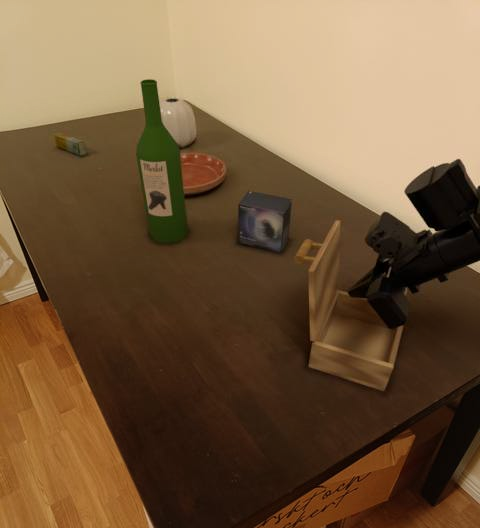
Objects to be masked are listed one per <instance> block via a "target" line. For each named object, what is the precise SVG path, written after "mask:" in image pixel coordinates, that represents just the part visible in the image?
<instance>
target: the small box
mask: <svg viewBox="0 0 480 528" xmlns="http://www.w3.org/2000/svg"><path fill="white" fill-rule="evenodd" d="M237 205H238V207H237V209H238V211H237V214H238V215H237V216H238V217H237V221H238V223H237V226H238V227H237V230H238V237H237V239H238V244H240V245H245V246H248V247H253V248H256V249H261V250H265V251H269V252H274V253H278V254H282V252H283V250H284V249H285V248H286V246H287V244H288V242H289V241H290V240H289V239H290V236H289V235H290V226H291V215H292V213H291V212H292V205H293V199H292V198H287V197H282V196H277V195H272V194H267V193H262V192H257V191H252V190H247V192H246V193H245V194H244V195H243V196H242V198H241V199H240V200H239V201H238V203H237Z"/></svg>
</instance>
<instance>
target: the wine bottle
mask: <svg viewBox="0 0 480 528" xmlns="http://www.w3.org/2000/svg"><path fill="white" fill-rule="evenodd" d="M140 89H141V95H142V102H143V103H142V104H143V111H144V118H145V126H144V128H143V131H142V133H141V135H140V137H139V140H138V142H137V144H136V149H135V151H136V153H135V155H136V162H137V168H138V173H139V180H140V184H141V191H142V198H143V202H144V208H145V213H146V221H147V225H148V232H149V235H150V237H151V239H152V240H153V241H155V242H157V243H160V244H172V243H177V242H180V241H182V240H183V239H185V237H187V235H188V233H189V231H188V230H189V229H188V220H187V210H186V200H185V199H186V198H185V195H184V188H183V178H182V168H181V158H180V153H181V150H180V147H178V144H177V142H176V141H175V140H174V138H173V137H172V136H171V134H170V133H169V132H168V130H167V129H166V128H165V126H164V125H163V123H162V118H161V110H160V96H159V90H158V81H157V80H155V79H152V78H151V79H149V78H147V79H142V80H141V81H140Z"/></svg>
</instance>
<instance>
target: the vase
mask: <svg viewBox="0 0 480 528" xmlns="http://www.w3.org/2000/svg"><path fill="white" fill-rule="evenodd" d="M159 103H160V110H161V118H162V123H163V125H164V126H165V128H166V129H167V130H168V132H169V133H170V134H171V136H172V137H173V138H174V140H175V141H176V142H177V144H178V147H179V149H180V148H184V147H186V146H190V145H191V144H192V143H193V142H194V140H195V139H196V138H197V124H196V118H195V113H194V110H193V108H192V106H191V105H190V104H189V103H188V102H186V100H184V99H182V98H180V97H176V96H175V97H172V96H171V97H166V98H164V99H162V100H161V101H159Z"/></svg>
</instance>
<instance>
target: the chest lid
mask: <svg viewBox="0 0 480 528" xmlns="http://www.w3.org/2000/svg"><path fill="white" fill-rule="evenodd" d="M340 245H341V220H337V219H336V220H334V222H333V224H332V226H331V228H330V230H329V232H328V234H327V235H326V237H325V239H324V241H323V243H322V242H314V241H313V240H312V239H310V238H306V239H304V240H303V242H302V244H301V245H300V247H299V248H298V251H297V252H296V254H295V256H294V257H293V262H294V263H295V264H296V265H303V264H304V263H306V264H307V263H308V264H311V265H310V267H309V269H308V270H307V274H308V275H307V277H308V279H307V280H308V281H307V282H308V309H309V311H308V313H309V340H310V342H312V343H313V342H315V341H316V338H317V336H318V334H319V331H320V329H321V327H322V325H323V322H324V320H325V318H326V315H327V313H328V311H329V308H330V306H331V304H332V302H333V299H334V297H335V295H336V292H337V290H339V285H340V253H341V252H340V251H341V250H340V249H341V248H340ZM312 249H315V250H318V252H317V254H316V256H315V257H314V256H308V255H309V254H310V252H311V250H312Z"/></svg>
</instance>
